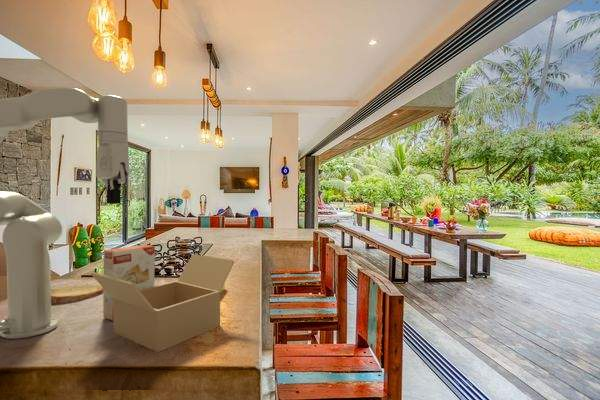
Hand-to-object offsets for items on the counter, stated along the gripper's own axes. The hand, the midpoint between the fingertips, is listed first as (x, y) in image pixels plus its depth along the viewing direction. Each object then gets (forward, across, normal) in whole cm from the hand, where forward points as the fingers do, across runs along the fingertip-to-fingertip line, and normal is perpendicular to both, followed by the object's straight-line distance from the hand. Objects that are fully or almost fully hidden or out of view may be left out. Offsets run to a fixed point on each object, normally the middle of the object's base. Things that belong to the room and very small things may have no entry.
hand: (113, 203), depth 101 cm
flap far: (+21, +17, +19) cm, 33 cm away
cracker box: (+35, -4, +7) cm, 36 cm away
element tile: (+36, -2, +34) cm, 49 cm away
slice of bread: (+36, -38, +4) cm, 52 cm away
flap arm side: (+21, +17, -7) cm, 28 cm away
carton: (+35, +17, +6) cm, 39 cm away
